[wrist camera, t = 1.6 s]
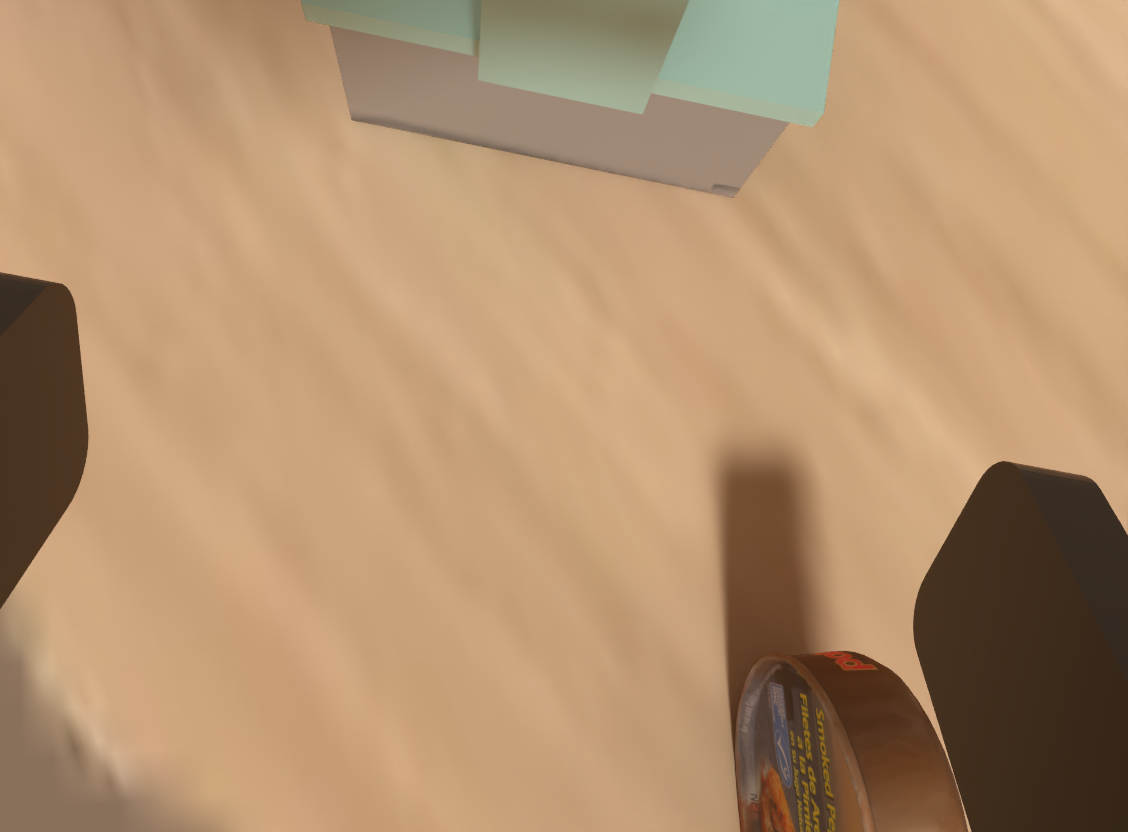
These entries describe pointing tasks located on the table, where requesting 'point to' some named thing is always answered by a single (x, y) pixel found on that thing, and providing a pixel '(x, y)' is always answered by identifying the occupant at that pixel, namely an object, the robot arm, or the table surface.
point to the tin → (838, 750)
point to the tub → (548, 118)
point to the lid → (625, 47)
